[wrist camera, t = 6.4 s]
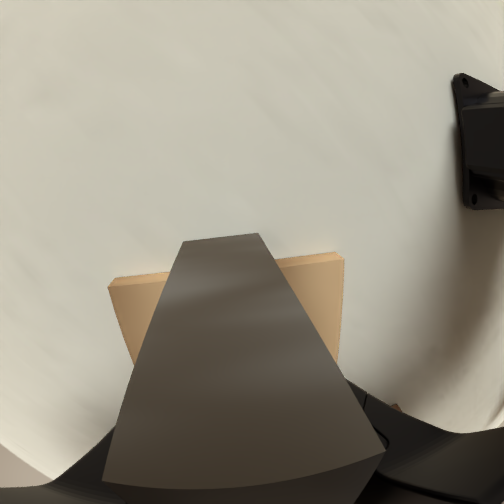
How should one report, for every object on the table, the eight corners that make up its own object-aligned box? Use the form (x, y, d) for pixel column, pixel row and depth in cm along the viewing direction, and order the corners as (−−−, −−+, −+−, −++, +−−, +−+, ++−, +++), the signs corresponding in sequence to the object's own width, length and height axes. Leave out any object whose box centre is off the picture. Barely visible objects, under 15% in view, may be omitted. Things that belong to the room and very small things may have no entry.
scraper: (335, 225, 10) (535, 354, 2) (308, 492, 16) (330, 563, 9) (108, 251, 9) (-46, 422, 1) (215, 505, 16) (222, 578, 8)
